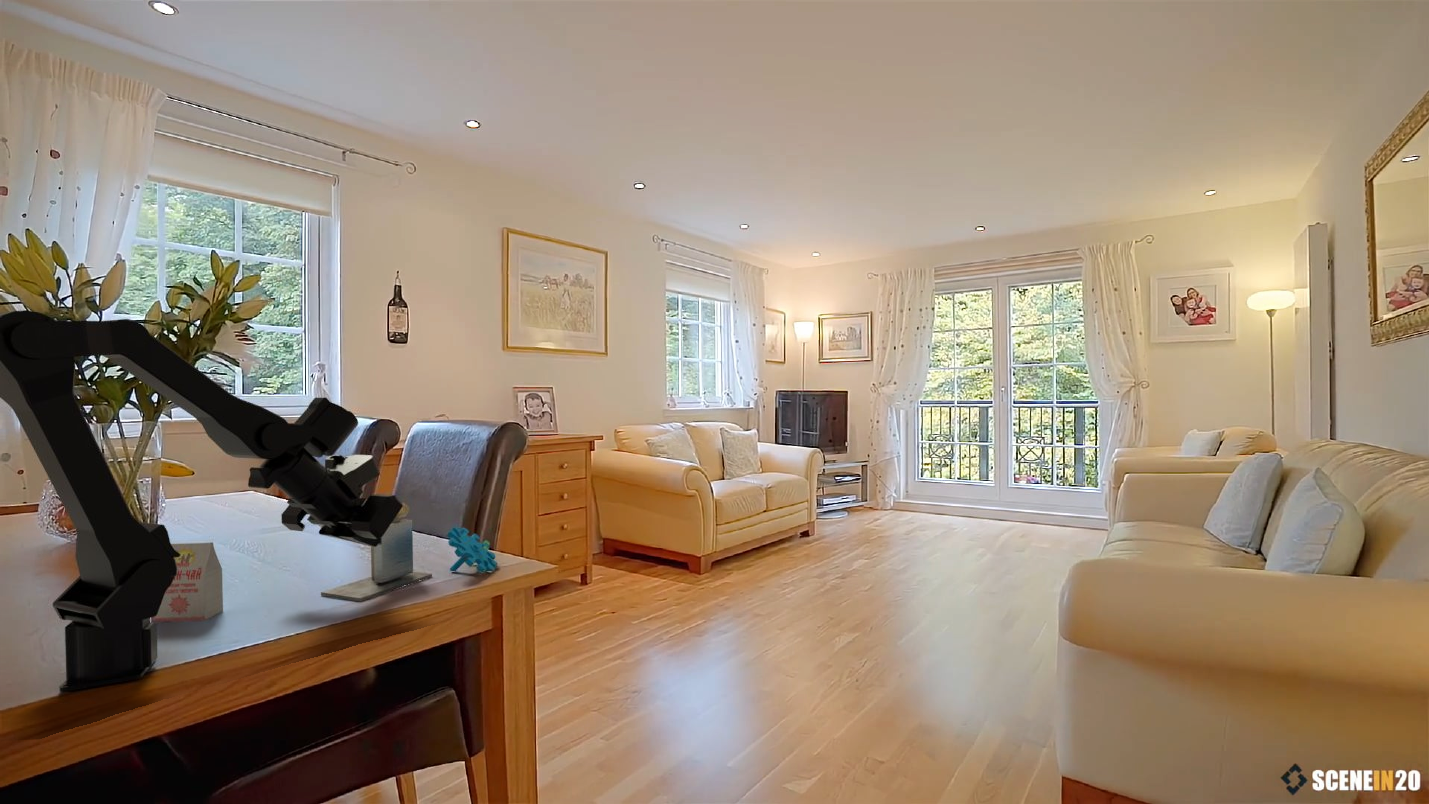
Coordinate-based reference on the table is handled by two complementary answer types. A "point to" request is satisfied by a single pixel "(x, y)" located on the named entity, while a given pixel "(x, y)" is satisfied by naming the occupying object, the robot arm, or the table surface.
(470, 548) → the teal branched piece
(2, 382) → the robot arm
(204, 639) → the table surface
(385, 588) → the hinge base
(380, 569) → the brass-capped grey pillar
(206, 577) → the tea bag
